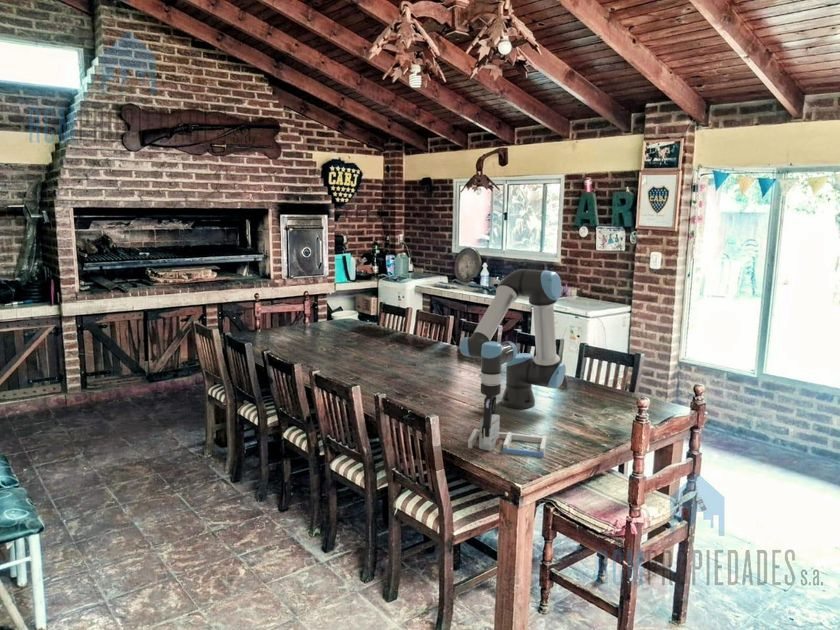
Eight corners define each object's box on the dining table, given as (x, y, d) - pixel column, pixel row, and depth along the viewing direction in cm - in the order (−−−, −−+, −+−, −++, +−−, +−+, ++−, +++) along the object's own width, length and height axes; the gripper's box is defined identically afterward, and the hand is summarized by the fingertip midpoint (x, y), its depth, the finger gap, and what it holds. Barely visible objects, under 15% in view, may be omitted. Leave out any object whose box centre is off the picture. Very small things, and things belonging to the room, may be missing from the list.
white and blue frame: (475, 434, 258) (475, 427, 258) (546, 441, 251) (547, 434, 250) (467, 448, 244) (467, 441, 243) (543, 457, 236) (543, 449, 236)
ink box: (488, 441, 251) (488, 412, 249) (499, 443, 249) (500, 414, 246) (478, 448, 244) (479, 419, 242) (490, 451, 241) (491, 421, 239)
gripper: (485, 374, 253) (484, 428, 257) (475, 390, 232) (474, 449, 236) (504, 375, 251) (503, 430, 255) (496, 392, 230) (494, 451, 234)
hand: (489, 439), depth 246 cm, fingers closed on ink box, 9 cm apart
